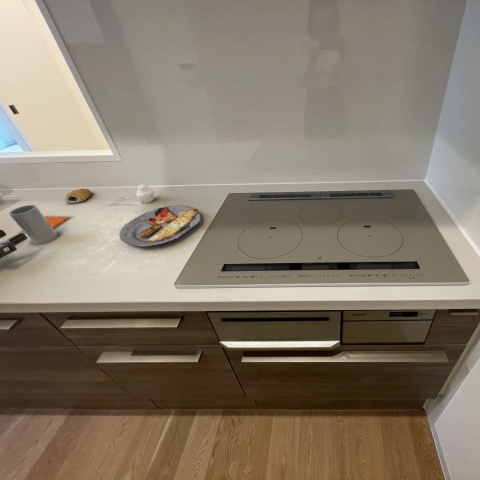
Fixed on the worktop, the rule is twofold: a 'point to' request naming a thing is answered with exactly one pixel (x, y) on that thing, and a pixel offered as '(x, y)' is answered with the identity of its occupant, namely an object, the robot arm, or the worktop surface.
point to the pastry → (78, 195)
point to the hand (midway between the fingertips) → (14, 233)
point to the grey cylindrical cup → (33, 224)
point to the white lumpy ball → (145, 193)
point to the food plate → (160, 225)
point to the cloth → (55, 220)
